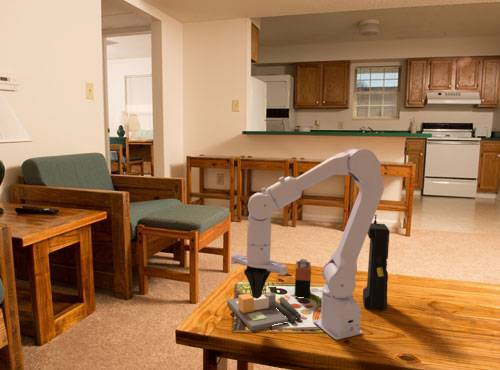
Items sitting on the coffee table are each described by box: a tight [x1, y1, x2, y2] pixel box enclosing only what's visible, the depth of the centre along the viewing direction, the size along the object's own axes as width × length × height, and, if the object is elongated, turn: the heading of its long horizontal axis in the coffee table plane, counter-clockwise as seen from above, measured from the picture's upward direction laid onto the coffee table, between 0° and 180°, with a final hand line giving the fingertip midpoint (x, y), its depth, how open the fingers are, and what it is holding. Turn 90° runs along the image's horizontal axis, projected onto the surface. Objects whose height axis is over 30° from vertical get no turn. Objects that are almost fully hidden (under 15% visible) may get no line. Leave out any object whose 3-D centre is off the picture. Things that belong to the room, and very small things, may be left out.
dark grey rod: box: [275, 300, 297, 323], centre depth 105 cm, size 16×2×2 cm, turn 25°
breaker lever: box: [237, 291, 277, 313], centre depth 103 cm, size 3×10×4 cm, turn 115°
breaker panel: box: [226, 297, 289, 332], centre depth 104 cm, size 16×11×2 cm
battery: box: [294, 258, 312, 299], centre depth 116 cm, size 4×7×10 cm, turn 173°
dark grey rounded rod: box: [279, 297, 302, 320], centre depth 105 cm, size 12×2×2 cm, turn 19°
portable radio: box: [362, 214, 391, 311], centre depth 108 cm, size 8×6×25 cm
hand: (257, 296), depth 97 cm, fingers closed
